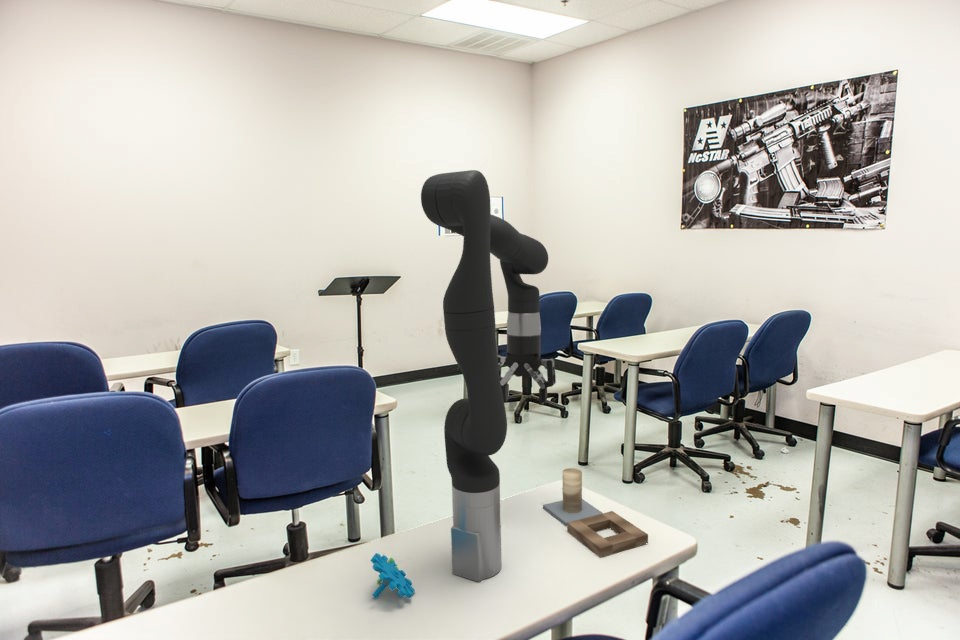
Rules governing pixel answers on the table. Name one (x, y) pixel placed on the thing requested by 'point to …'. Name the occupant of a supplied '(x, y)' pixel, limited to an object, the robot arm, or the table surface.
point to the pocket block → (601, 546)
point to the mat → (566, 517)
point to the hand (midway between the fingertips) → (523, 402)
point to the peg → (572, 490)
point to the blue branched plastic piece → (391, 577)
